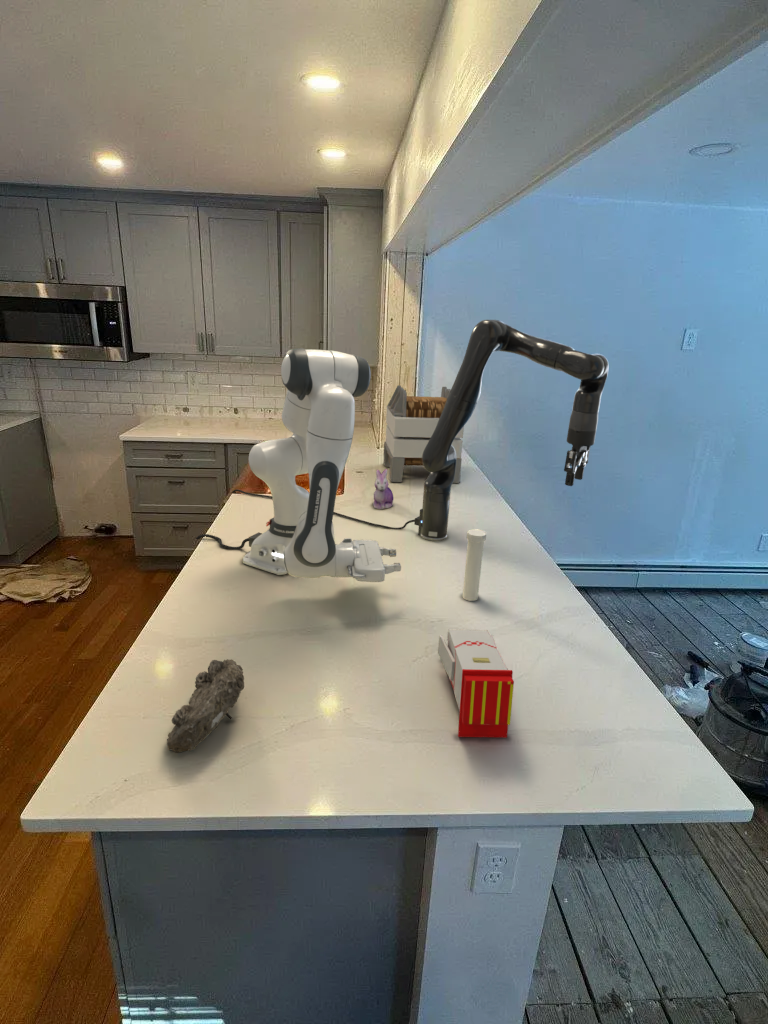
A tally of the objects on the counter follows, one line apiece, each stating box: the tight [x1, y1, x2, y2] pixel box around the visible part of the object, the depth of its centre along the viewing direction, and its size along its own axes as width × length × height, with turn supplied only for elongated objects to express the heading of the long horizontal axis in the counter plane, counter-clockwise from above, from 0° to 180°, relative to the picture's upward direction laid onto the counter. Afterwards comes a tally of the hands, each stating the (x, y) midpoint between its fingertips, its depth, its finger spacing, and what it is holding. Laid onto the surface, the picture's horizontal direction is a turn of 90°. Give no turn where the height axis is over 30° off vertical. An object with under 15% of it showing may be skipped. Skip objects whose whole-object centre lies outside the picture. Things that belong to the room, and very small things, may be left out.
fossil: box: [166, 658, 245, 754], centre depth 106 cm, size 22×10×15 cm
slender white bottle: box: [461, 539, 485, 602], centre depth 155 cm, size 4×4×19 cm
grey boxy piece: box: [383, 384, 465, 484], centre depth 268 cm, size 34×33×41 cm
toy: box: [437, 628, 515, 738], centre depth 117 cm, size 12×13×30 cm
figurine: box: [372, 468, 394, 510], centre depth 225 cm, size 9×10×15 cm
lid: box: [466, 528, 487, 543], centre depth 152 cm, size 5×5×2 cm
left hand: (398, 559), depth 151 cm, fingers open, 8 cm apart
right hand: (573, 482), depth 165 cm, fingers open, 8 cm apart
